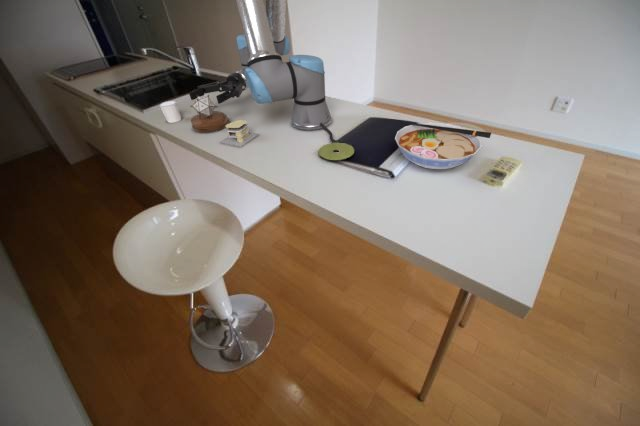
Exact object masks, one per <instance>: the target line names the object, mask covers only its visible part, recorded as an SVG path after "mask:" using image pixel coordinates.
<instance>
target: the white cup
mask: <svg viewBox="0 0 640 426" xmlns="http://www.w3.org/2000/svg"><path fill="white" fill-rule="evenodd" d="M159 108H160V109H161V111H162V114H163V116H164V118H165V119H166V121H167V123H170V124H171V123H177V122H178V123H179V122H180V121H181V120H182V115H181V111H180V108H179V104H178V101H176V100H168V101H164V102H160V104H159Z"/></svg>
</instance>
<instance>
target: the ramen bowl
mask: <svg viewBox="0 0 640 426" xmlns="http://www.w3.org/2000/svg"><path fill="white" fill-rule="evenodd" d="M400 124H405V125H406V126H404V127H402V128H400V129H399V130H398V131H397V132H396V134H395V137H394V140H395V142H396V145H397V147H398V148H399V150H400V152H401V154H402V155H403V156H404V158H405V159H407V160H408V161H409V162H411V163H413V164H414V165H416V166H419V167H422V168H425V169H431V170H446V169H447V170H448V169H452V168H455V167H458V166H461V165H462V164H464V163H467V162H468V161H469V160H470V159H471V158H473V156H475V154H477V153H478V152H479V151H480V150H481V149H482V140H481V138H486V139H490V138H491V136H492V132H489V131H482V130H472V129H467V128H464V127H462V126H458V125H454V124H450V123H444V122H431V121H430V122H417V123H415V122H407V121H401V122H400ZM479 137H480V138H479Z"/></svg>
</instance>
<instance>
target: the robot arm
mask: <svg viewBox="0 0 640 426" xmlns="http://www.w3.org/2000/svg"><path fill="white" fill-rule="evenodd" d="M235 3H236V7H237V11H238V15H239V19H240V24H241V27H242V30H243V34H239V35H237V36H236V44H237V50H238V55H239V60H240V64H241V69H240V70H239V69H238V70H237V71H235V72H233V73H231V74H229V75H227V77H226V80H222V81H220V80H217V81H214V82H210V83H206V84H200V85H198V86H197V89H195V90H192V91H190V92H188V94H189V98H190V101H194V100H196V99H197V96H196V95H198V96H201V97H205V95H206V94H211V93H217V92H219V94H218V95H216V96H215V98H216V100H217V104H222V103H224V102H226V101H228V100H230V99H232V98H233V99H234V98H237V99H238V98H240V97H241V95H242V94H243V92H245V91H247V89H249V91H250V93H251V96H252V97H253V99H254V101H255V102H256V103H257V104H259V105H266V104H273V103H277V102H283V101H289V100H292V99H293V102H294V104H293V109H292V114H291V119H290V120H291V125H292V127H293V128H294V129H297V130H301V131H317V130H322V129H324V130H325V131H326V133H328V135H329V140H330V142H331V143H339V142H338V141H339V140H336V139H334V137H333V136H334V135H333V133H332V132H331V130H330V129H329V128H328V127H329V125H331V123H332V115H331V113H330V109H329V108H328V104H327V101H326V82H325V81H326V80H325V78H326V77H325V75H326V73H325V72H326V71H325V65H324V61H323V59H322V58H321V57H319V56H317V55H316V56H315V55H310V54H293V55H290V56H289V57H288V58H289V59H288V61H287V62H286V61H285V62H283V58H282V56H286V55H289V54H290V51H291V44H290V40H289V39H290V38H289V37H288V36H287V35H286V32H285V31H286V7H287V6H286V4H287V0H265V1H264V0H235ZM347 143H348V142H347ZM347 143H345V144H347ZM353 144H354V143H353ZM353 144H348V145H351V146H352V147H353Z"/></svg>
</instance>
